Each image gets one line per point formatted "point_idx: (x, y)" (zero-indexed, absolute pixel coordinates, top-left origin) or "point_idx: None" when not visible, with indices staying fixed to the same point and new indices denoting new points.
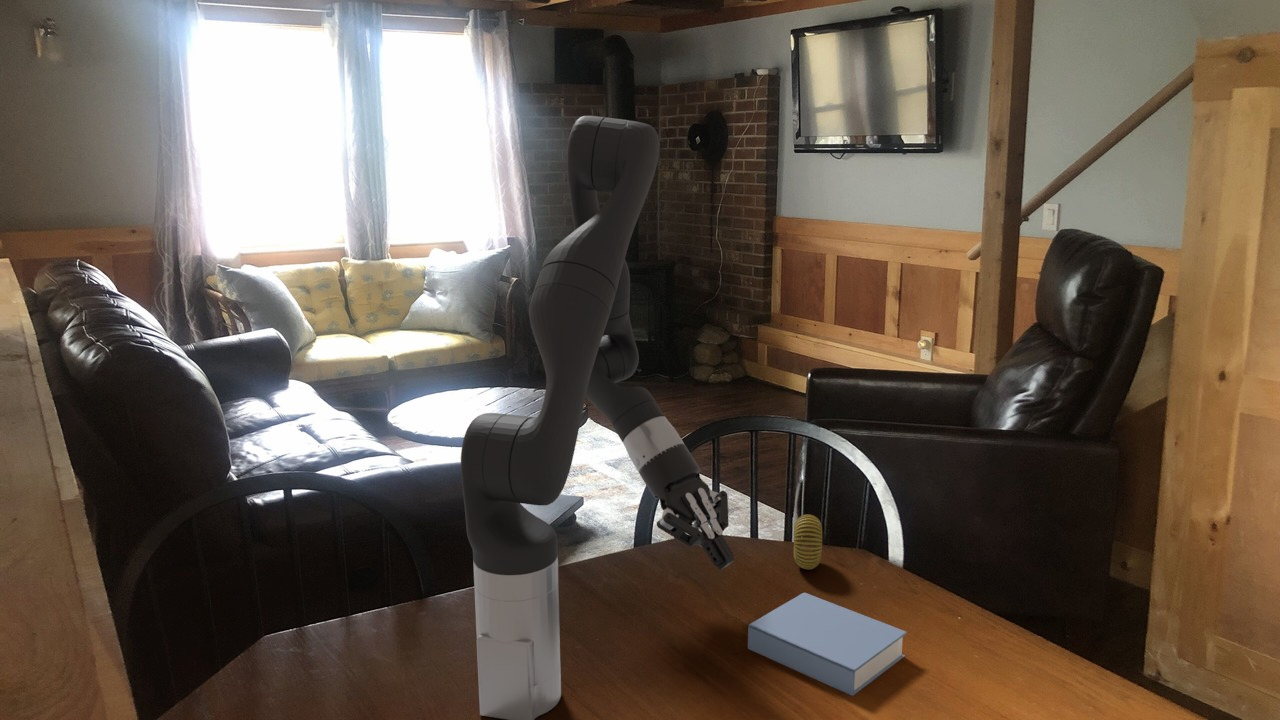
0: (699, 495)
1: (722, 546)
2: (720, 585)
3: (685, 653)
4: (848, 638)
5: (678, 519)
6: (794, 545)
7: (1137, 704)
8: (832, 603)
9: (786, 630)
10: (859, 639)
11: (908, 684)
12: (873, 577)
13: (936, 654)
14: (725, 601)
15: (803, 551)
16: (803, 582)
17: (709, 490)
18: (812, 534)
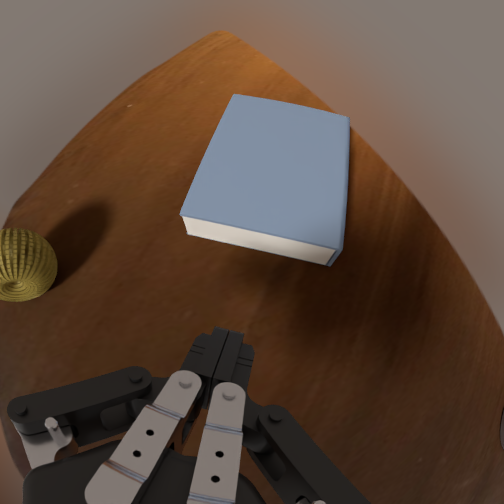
0: (133, 499)
1: (219, 356)
2: None
3: (393, 337)
4: (288, 130)
5: (326, 492)
6: (33, 279)
7: (222, 31)
8: (199, 168)
9: (321, 194)
10: (282, 121)
11: None
12: (53, 195)
13: (215, 100)
14: None
15: (47, 258)
16: (85, 270)
17: (44, 467)
18: (23, 235)
